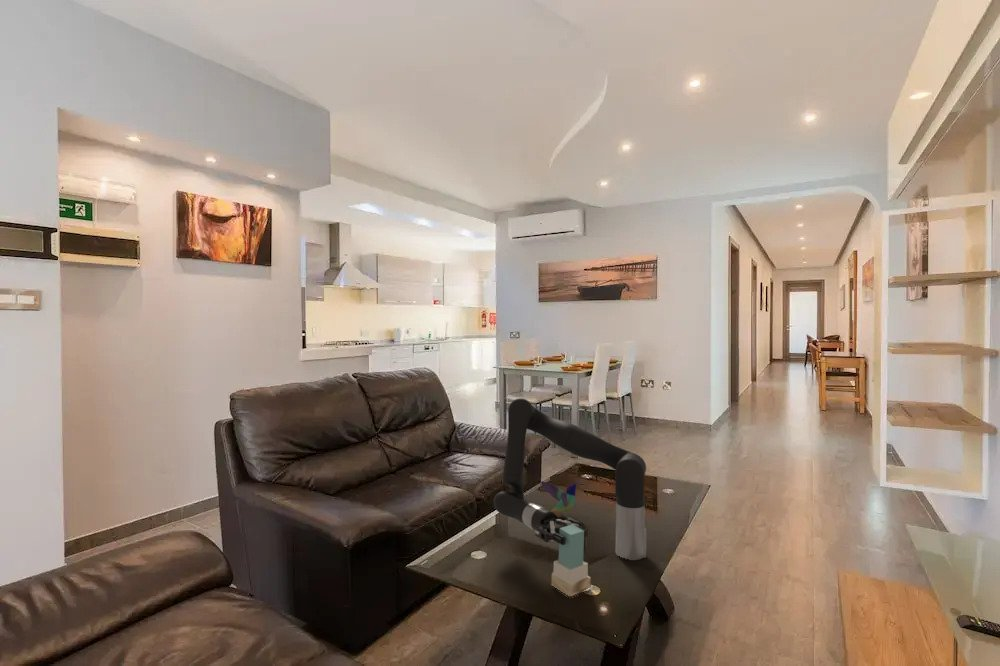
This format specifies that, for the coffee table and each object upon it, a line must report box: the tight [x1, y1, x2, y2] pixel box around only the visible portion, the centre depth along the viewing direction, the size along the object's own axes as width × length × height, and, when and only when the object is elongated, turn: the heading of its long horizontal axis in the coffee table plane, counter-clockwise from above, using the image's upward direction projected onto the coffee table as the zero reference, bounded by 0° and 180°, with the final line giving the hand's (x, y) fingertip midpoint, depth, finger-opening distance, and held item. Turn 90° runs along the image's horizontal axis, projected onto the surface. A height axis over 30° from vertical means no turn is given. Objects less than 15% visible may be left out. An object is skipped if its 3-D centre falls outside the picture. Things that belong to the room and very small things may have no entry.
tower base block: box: [551, 572, 592, 596], centre depth 145 cm, size 8×8×4 cm
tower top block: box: [553, 558, 589, 585], centre depth 144 cm, size 7×7×4 cm
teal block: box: [558, 524, 585, 569], centre depth 143 cm, size 5×5×10 cm
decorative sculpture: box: [540, 476, 585, 517], centre depth 197 cm, size 17×18×15 cm
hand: (575, 537), depth 143 cm, fingers open, 8 cm apart
